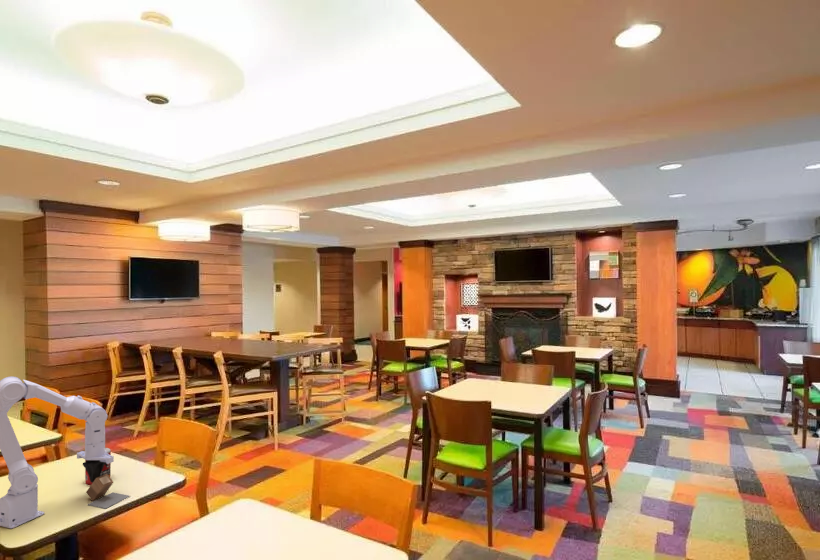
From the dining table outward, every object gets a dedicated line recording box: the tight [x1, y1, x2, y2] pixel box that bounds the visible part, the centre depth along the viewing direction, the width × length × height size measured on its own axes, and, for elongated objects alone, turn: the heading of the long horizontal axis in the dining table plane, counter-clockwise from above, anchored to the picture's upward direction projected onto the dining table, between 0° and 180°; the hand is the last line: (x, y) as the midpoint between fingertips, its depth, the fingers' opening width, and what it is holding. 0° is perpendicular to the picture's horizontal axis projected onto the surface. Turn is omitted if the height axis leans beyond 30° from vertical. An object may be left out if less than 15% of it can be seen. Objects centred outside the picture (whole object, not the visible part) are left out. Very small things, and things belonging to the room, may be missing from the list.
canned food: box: [84, 447, 112, 486], centre depth 170 cm, size 8×8×11 cm
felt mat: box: [87, 492, 130, 510], centre depth 155 cm, size 9×8×1 cm
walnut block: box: [85, 474, 114, 502], centre depth 157 cm, size 4×4×7 cm
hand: (94, 481), depth 157 cm, fingers closed
